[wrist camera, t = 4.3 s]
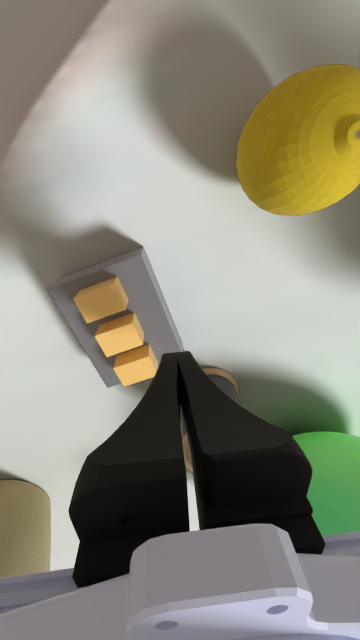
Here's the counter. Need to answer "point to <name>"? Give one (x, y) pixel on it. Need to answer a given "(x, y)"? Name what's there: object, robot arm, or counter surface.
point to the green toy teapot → (333, 480)
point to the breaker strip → (119, 317)
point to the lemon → (303, 142)
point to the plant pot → (24, 528)
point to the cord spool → (227, 386)
